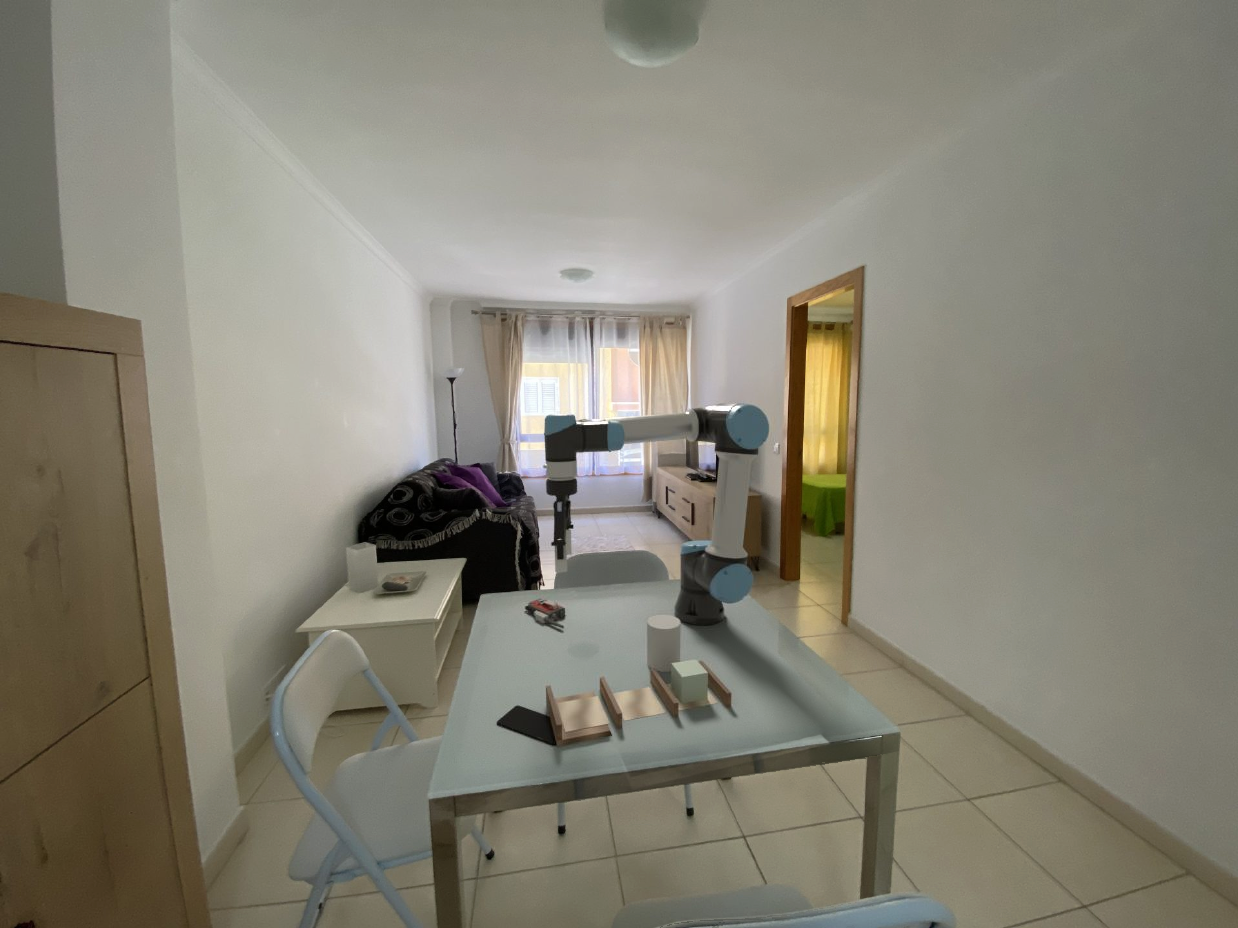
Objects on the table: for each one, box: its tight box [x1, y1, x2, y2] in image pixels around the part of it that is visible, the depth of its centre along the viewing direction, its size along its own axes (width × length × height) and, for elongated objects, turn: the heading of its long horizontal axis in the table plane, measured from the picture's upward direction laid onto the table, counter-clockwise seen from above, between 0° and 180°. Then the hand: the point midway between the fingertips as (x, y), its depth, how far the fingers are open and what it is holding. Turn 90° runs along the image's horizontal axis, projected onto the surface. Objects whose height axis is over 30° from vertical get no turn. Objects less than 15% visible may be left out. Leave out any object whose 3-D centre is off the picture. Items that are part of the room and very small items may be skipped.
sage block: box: [670, 659, 709, 703], centre depth 111 cm, size 6×6×6 cm
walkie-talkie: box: [524, 598, 566, 629], centre depth 155 cm, size 9×4×20 cm
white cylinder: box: [646, 614, 682, 673], centre depth 124 cm, size 8×8×12 cm
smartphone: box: [496, 705, 557, 747], centre depth 103 cm, size 7×1×15 cm
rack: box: [545, 660, 732, 748], centre depth 108 cm, size 37×14×4 cm, turn 106°
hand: (563, 562), depth 126 cm, fingers open, 13 cm apart
